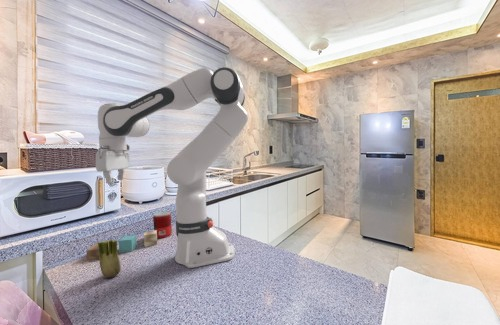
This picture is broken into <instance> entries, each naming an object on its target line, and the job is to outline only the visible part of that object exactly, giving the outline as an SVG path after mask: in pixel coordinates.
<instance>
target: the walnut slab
mask: <svg viewBox="0 0 500 325" xmlns="http://www.w3.org/2000/svg"><path fill="white" fill-rule="evenodd" d="M108 247H109V241H108ZM85 252H86V260H87V261H90V260H98V259H99V246H98V242H97V243H95V244H94V245H92V246H90V247H89V248H88V249H86V251H85Z"/></svg>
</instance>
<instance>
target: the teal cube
mask: <svg viewBox="0 0 500 325" xmlns="http://www.w3.org/2000/svg"><path fill="white" fill-rule="evenodd" d="M137 243H138V242H137V235H136V234H134V235H124V236H123V237H121V238H120V239H118V250H119V253H127V252H130V253H131V252H133V251H134V250H135V249H136V248H137V247H138V244H137ZM119 253H118V254H119Z"/></svg>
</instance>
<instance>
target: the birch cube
mask: <svg viewBox="0 0 500 325" xmlns="http://www.w3.org/2000/svg"><path fill="white" fill-rule="evenodd" d="M143 233H144V234H143V241H144V247H145V248H146V247H150V246H151V245H152V246H156V245H158V238H157V230H154V229H153V230H150V231H149V230H148V231H144V232H143Z"/></svg>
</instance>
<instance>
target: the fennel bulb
mask: <svg viewBox="0 0 500 325" xmlns="http://www.w3.org/2000/svg"><path fill="white" fill-rule="evenodd" d="M108 242H109V247H108ZM97 243H98V246H99V267H100V272H101V273H102V276H103V278H105V279H111V278H114V277H116V276H117V275H118V274H120V273H121V261H120V257H119V255H118V254H119V253H118V240H116V239H115V240H114V239H109V240H105V241H103V240H101V241H98V242H97Z"/></svg>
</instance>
